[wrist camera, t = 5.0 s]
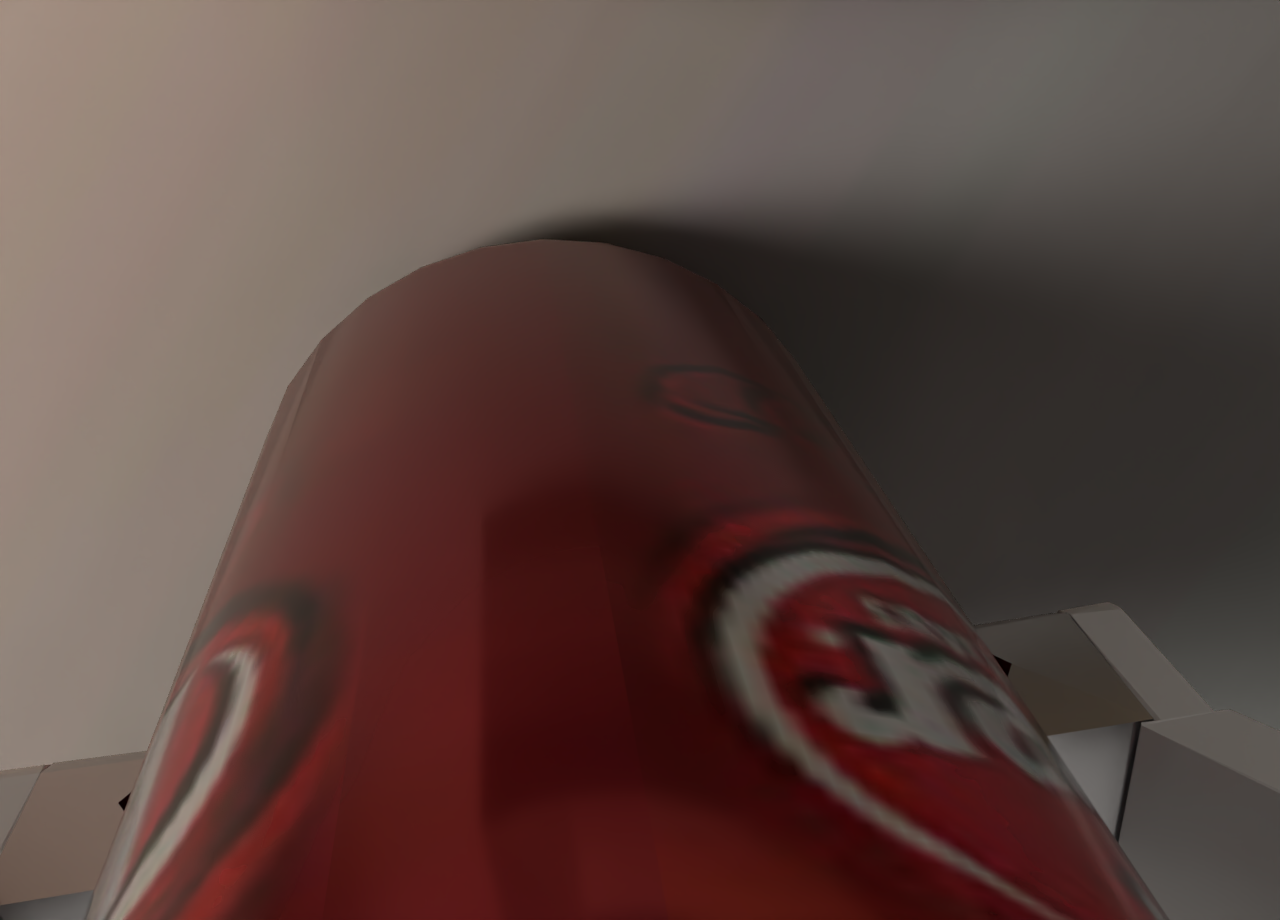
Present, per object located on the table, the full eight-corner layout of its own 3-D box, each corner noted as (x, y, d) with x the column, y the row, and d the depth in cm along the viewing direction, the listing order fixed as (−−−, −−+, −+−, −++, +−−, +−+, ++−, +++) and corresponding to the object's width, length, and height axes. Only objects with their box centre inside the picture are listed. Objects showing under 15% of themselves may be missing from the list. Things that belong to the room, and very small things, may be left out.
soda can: (779, 160, 13) (2204, 1469, 2) (841, 634, 16) (1501, 2000, 6) (176, 300, 13) (-1359, 2421, 2) (371, 749, 16) (172, 2368, 6)
